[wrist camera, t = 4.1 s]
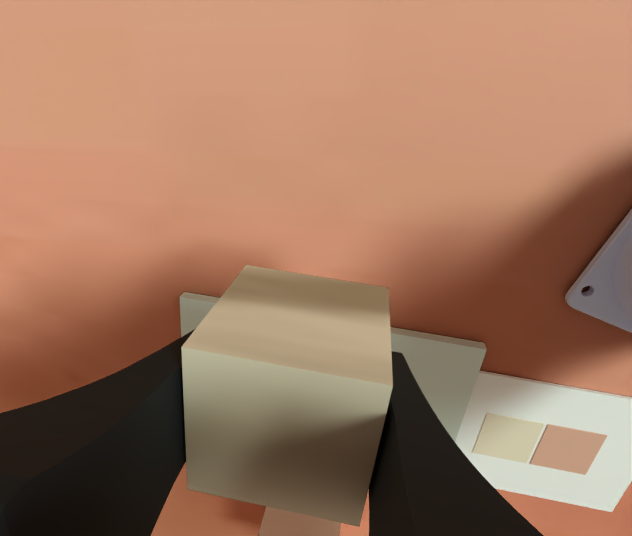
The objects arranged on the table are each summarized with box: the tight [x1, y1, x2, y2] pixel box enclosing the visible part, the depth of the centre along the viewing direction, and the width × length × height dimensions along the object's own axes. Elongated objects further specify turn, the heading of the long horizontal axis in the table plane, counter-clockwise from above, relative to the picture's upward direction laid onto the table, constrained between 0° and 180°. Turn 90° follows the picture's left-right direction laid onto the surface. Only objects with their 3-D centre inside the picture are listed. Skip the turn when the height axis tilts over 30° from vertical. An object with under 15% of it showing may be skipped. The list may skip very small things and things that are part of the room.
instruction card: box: [455, 371, 632, 512], centre depth 22 cm, size 8×11×1 cm
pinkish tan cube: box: [258, 506, 340, 536], centre depth 25 cm, size 4×4×4 cm
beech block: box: [181, 265, 393, 526], centre depth 11 cm, size 4×4×4 cm
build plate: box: [180, 292, 487, 442], centre depth 23 cm, size 11×16×1 cm
